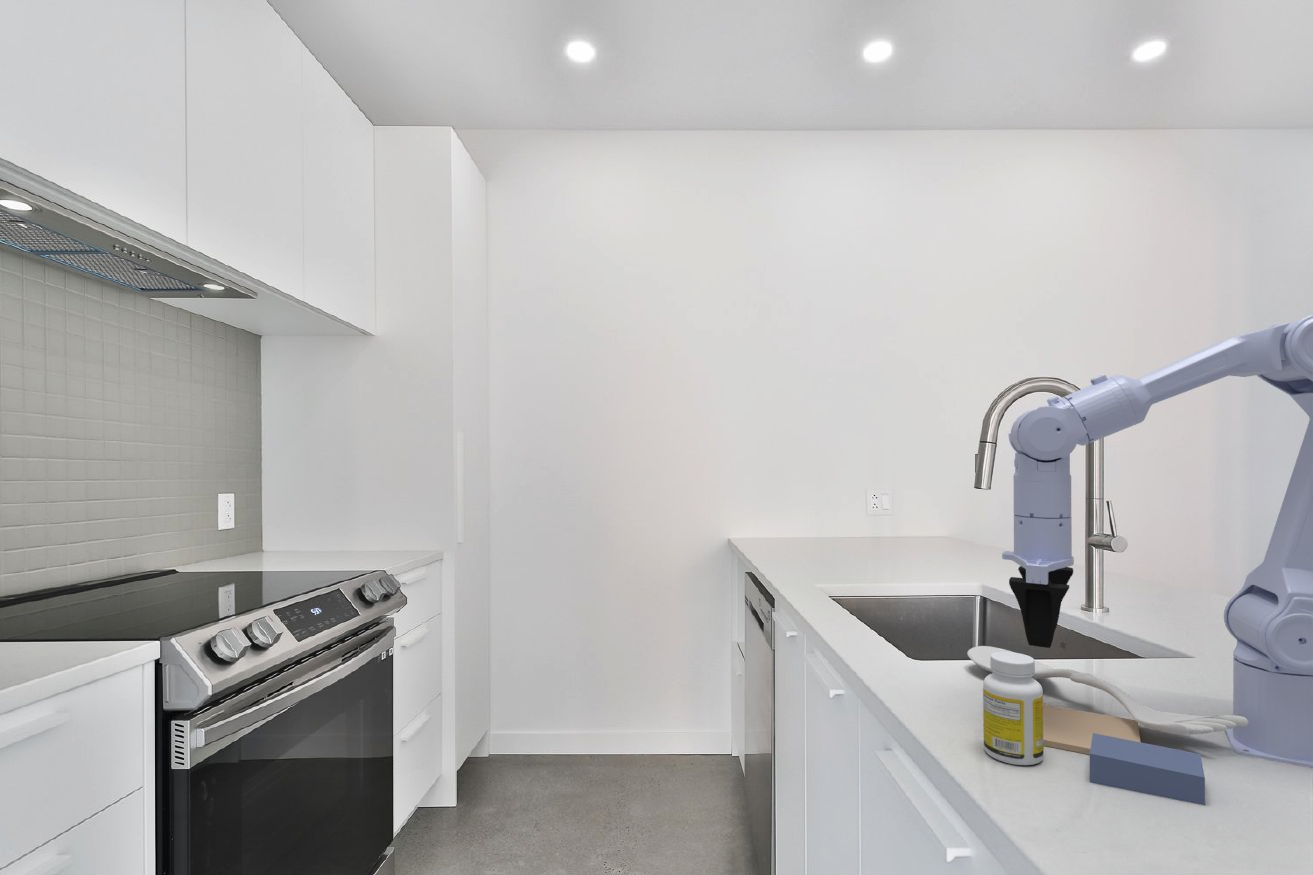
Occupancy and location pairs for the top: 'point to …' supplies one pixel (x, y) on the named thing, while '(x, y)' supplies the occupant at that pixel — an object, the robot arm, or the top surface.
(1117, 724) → the flat tan board
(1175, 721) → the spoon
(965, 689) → the top surface
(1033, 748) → the supplement bottle
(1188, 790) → the card box
